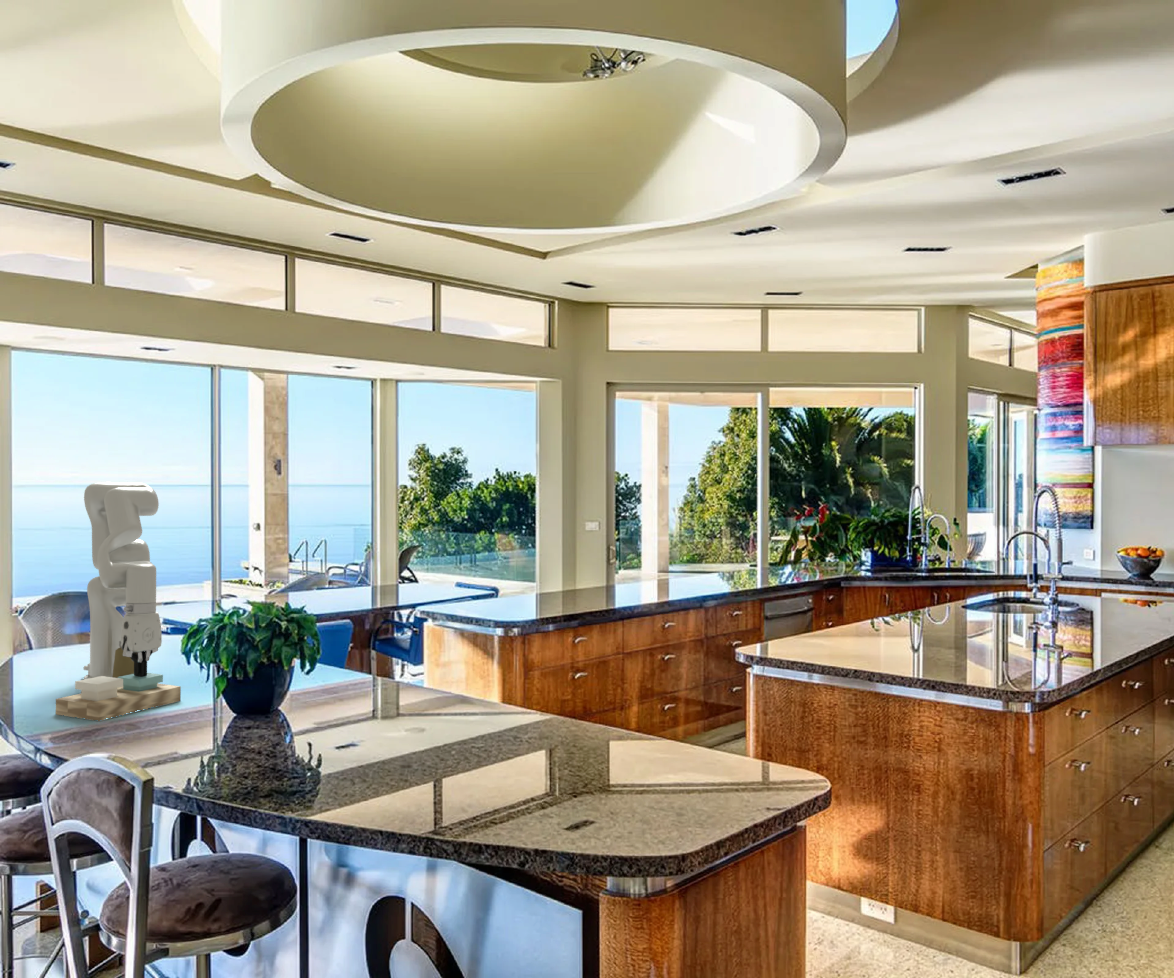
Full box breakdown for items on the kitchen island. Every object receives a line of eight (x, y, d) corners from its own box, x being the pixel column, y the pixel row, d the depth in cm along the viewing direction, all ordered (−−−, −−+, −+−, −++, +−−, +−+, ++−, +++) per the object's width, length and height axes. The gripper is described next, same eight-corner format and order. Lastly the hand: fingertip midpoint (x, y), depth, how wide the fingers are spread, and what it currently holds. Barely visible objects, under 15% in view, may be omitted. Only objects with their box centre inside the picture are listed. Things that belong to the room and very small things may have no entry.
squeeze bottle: (134, 693, 280) (135, 630, 280) (106, 692, 281) (107, 629, 280) (147, 687, 289) (148, 626, 288) (120, 686, 289) (121, 625, 289)
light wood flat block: (99, 721, 248) (99, 705, 248) (55, 714, 255) (55, 698, 255) (180, 700, 272) (180, 686, 272) (138, 694, 279) (138, 680, 279)
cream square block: (96, 703, 252) (96, 684, 252) (75, 700, 256) (75, 681, 255) (123, 697, 259) (123, 678, 259) (101, 694, 263) (101, 675, 263)
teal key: (138, 698, 264) (138, 679, 264) (117, 695, 267) (117, 677, 267) (162, 692, 271) (162, 674, 271) (141, 689, 275) (141, 671, 275)
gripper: (127, 613, 261) (127, 682, 261) (172, 606, 274) (172, 672, 274) (107, 611, 264) (107, 679, 264) (153, 604, 277) (152, 669, 278)
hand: (140, 675), depth 269 cm, fingers closed
